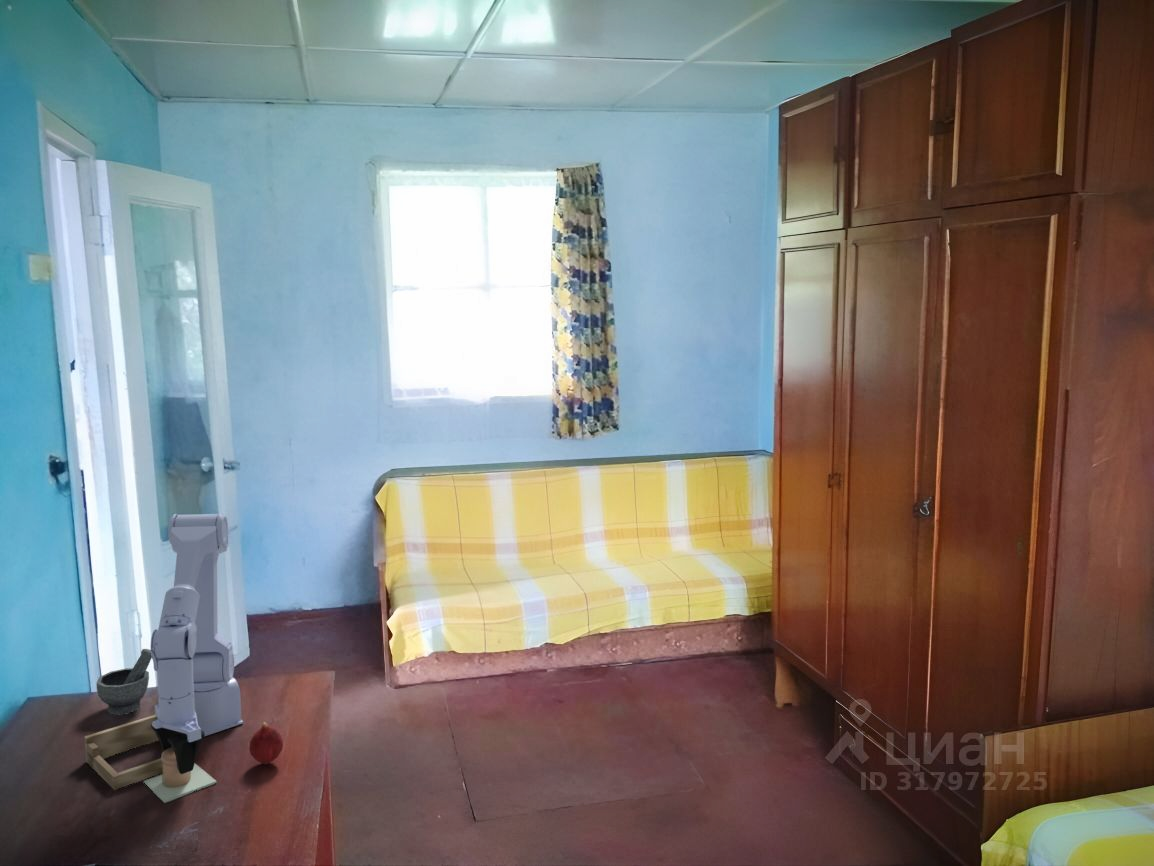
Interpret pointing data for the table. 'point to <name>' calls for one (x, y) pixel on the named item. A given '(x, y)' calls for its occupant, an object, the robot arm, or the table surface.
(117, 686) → the mortar and pestle
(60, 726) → the table surface
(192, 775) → the mat
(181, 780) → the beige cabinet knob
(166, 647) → the robot arm
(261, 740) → the onion
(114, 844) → the table surface
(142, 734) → the wooden frame
